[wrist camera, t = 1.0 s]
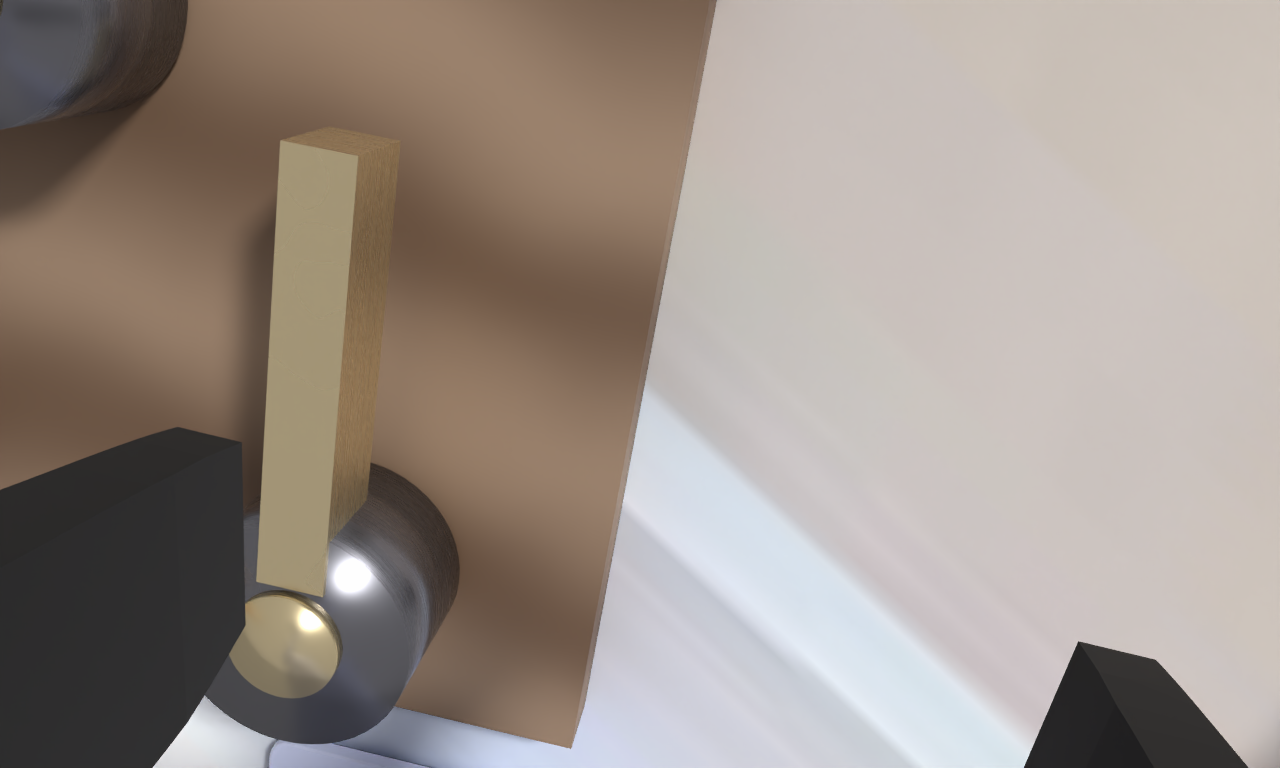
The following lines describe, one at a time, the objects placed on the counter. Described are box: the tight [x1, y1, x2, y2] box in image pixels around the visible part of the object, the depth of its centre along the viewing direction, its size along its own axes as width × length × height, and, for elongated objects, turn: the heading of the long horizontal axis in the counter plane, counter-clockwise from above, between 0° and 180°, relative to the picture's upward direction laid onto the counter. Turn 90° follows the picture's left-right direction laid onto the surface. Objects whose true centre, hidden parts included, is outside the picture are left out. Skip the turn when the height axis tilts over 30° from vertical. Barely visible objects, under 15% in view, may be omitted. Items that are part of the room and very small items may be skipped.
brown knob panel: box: [0, 0, 717, 749], centre depth 20 cm, size 21×17×4 cm
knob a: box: [205, 127, 460, 744], centre depth 19 cm, size 11×4×3 cm, turn 170°
